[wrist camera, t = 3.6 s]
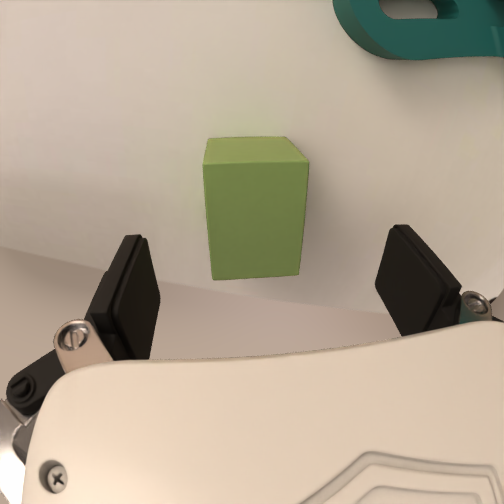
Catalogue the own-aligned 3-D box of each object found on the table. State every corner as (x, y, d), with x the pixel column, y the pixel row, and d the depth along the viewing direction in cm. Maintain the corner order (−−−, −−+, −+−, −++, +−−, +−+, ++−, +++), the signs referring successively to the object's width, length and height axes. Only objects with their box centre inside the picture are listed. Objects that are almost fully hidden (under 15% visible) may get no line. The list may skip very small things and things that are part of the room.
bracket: (501, -16, 8) (570, -11, 1) (520, 54, 11) (590, 75, 5) (315, -33, 10) (378, -87, 3) (354, 66, 14) (441, 73, 7)
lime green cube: (213, 231, 19) (212, 281, 15) (207, 138, 16) (202, 163, 11) (282, 227, 19) (299, 275, 15) (286, 136, 16) (309, 160, 12)
